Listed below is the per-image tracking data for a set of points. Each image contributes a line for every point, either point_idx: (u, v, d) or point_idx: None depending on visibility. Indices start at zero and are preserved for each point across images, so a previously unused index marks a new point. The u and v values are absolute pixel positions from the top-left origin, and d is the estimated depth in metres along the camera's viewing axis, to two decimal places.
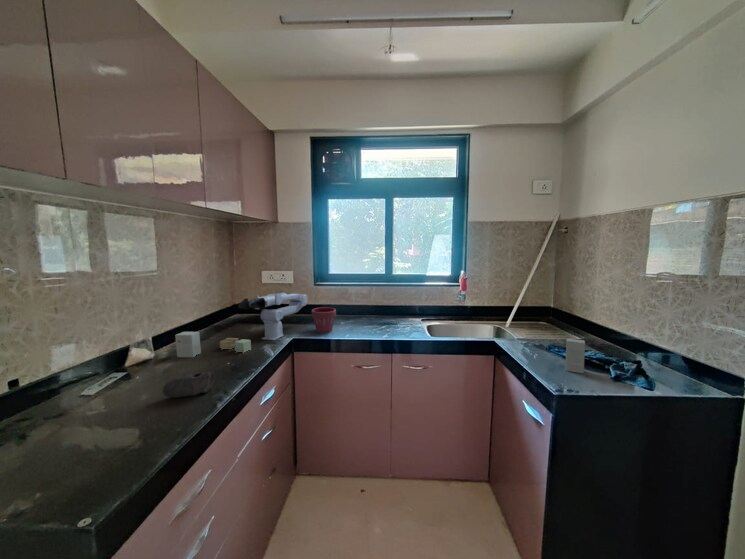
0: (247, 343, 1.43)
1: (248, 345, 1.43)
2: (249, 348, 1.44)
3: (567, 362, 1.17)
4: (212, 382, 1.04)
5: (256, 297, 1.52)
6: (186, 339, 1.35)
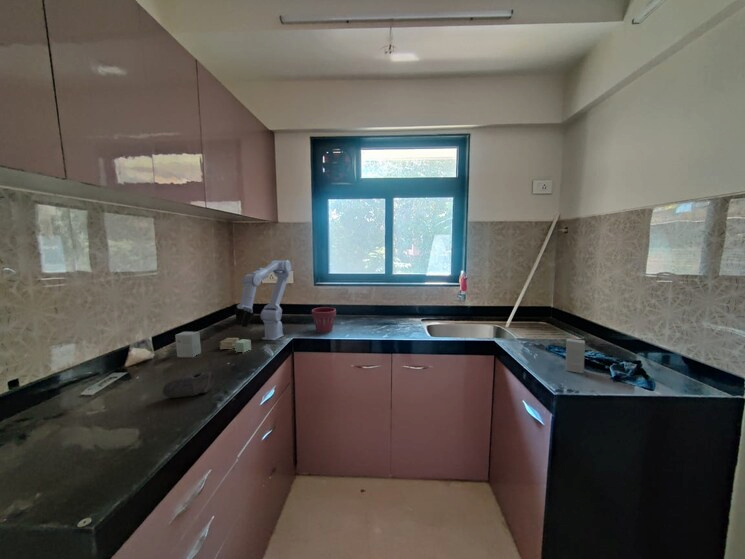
0: (247, 343, 1.43)
1: (248, 345, 1.43)
2: (249, 348, 1.44)
3: (567, 362, 1.17)
4: (212, 382, 1.04)
5: None
6: (186, 339, 1.35)
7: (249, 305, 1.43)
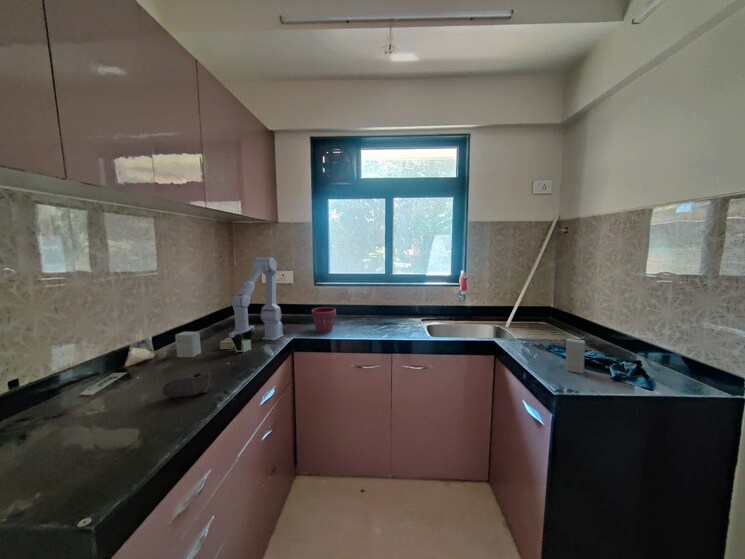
0: (247, 342, 1.43)
1: (248, 345, 1.43)
2: (249, 348, 1.44)
3: (567, 362, 1.17)
4: (212, 382, 1.04)
5: None
6: (186, 339, 1.35)
7: (243, 329, 1.40)
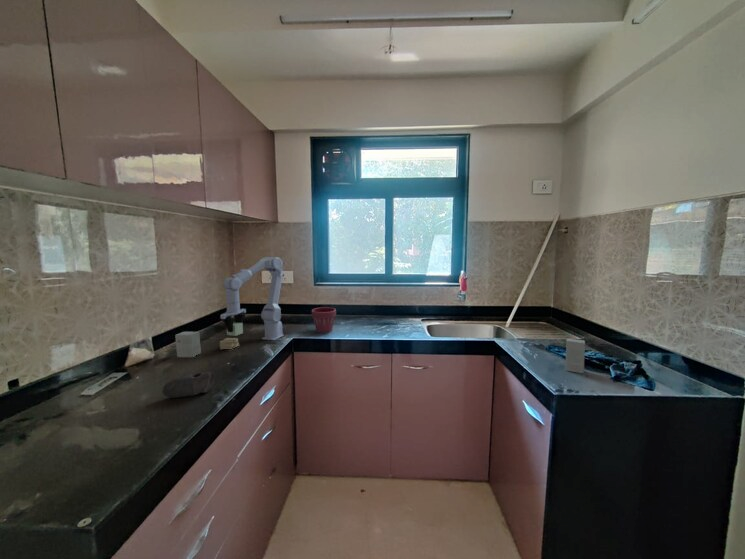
0: (239, 325, 1.44)
1: (240, 328, 1.45)
2: (241, 331, 1.46)
3: (567, 362, 1.17)
4: (212, 382, 1.04)
5: None
6: (186, 339, 1.35)
7: (234, 311, 1.42)
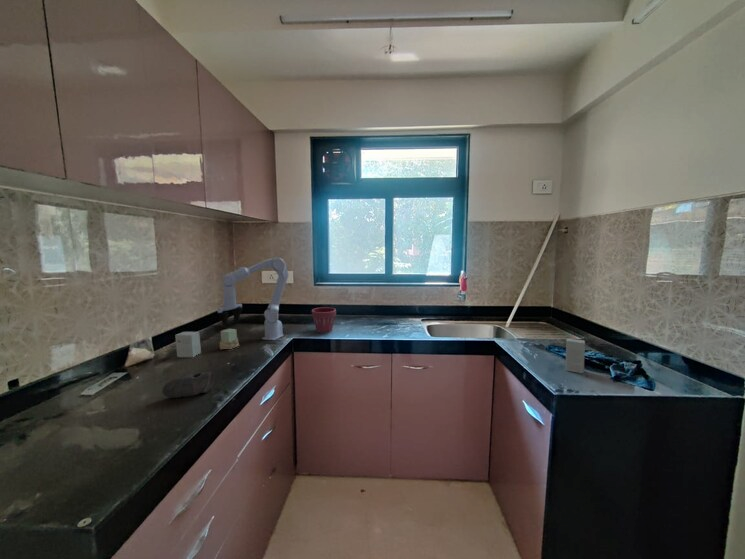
0: (232, 332, 1.47)
1: (234, 334, 1.47)
2: (235, 337, 1.48)
3: (567, 362, 1.17)
4: (212, 382, 1.04)
5: None
6: (186, 339, 1.35)
7: (230, 305, 1.51)
